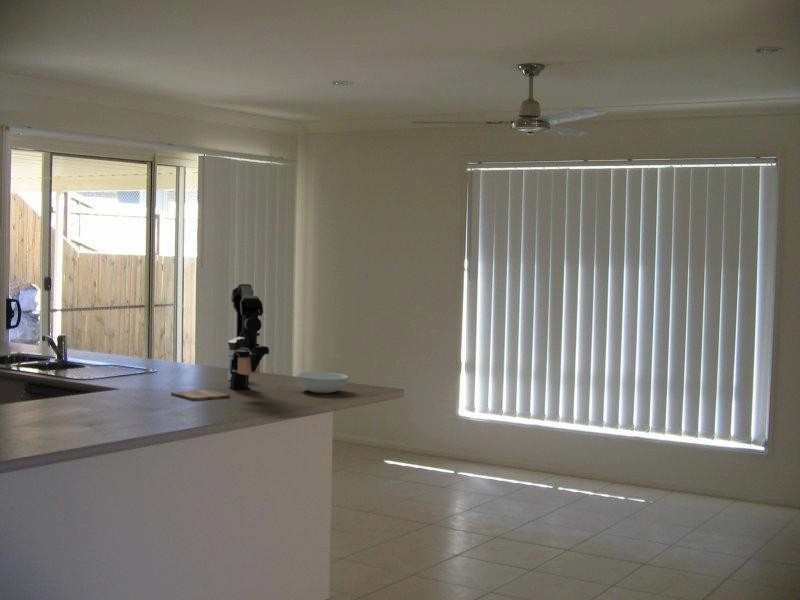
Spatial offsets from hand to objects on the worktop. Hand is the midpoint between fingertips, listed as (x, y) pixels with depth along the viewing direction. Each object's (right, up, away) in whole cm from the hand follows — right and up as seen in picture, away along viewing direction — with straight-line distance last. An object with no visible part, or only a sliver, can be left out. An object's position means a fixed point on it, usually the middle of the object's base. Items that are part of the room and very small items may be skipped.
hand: (248, 370), depth 358 cm
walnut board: (-18, -10, -1) cm, 21 cm away
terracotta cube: (0, -1, 0) cm, 1 cm away
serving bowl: (+26, -11, +24) cm, 37 cm away
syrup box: (-13, -8, +47) cm, 50 cm away
